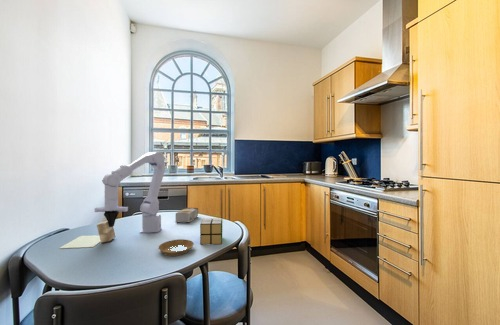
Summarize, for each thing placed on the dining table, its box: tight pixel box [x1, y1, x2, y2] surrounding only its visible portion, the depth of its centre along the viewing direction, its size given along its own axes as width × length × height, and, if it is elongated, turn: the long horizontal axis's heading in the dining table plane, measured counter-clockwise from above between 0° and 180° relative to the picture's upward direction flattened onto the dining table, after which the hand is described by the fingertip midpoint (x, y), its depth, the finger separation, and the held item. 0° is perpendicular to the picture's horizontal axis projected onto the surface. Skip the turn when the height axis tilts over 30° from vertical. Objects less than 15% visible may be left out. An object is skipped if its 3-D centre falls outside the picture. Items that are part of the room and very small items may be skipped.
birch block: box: [96, 220, 116, 244], centre depth 112 cm, size 4×6×9 cm, turn 7°
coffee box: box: [174, 207, 199, 223], centre depth 151 cm, size 9×6×16 cm
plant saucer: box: [158, 238, 195, 257], centre depth 101 cm, size 15×15×3 cm
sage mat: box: [58, 234, 101, 250], centre depth 111 cm, size 14×16×1 cm
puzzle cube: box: [199, 217, 223, 246], centre depth 113 cm, size 10×10×10 cm
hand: (111, 226), depth 112 cm, fingers closed
